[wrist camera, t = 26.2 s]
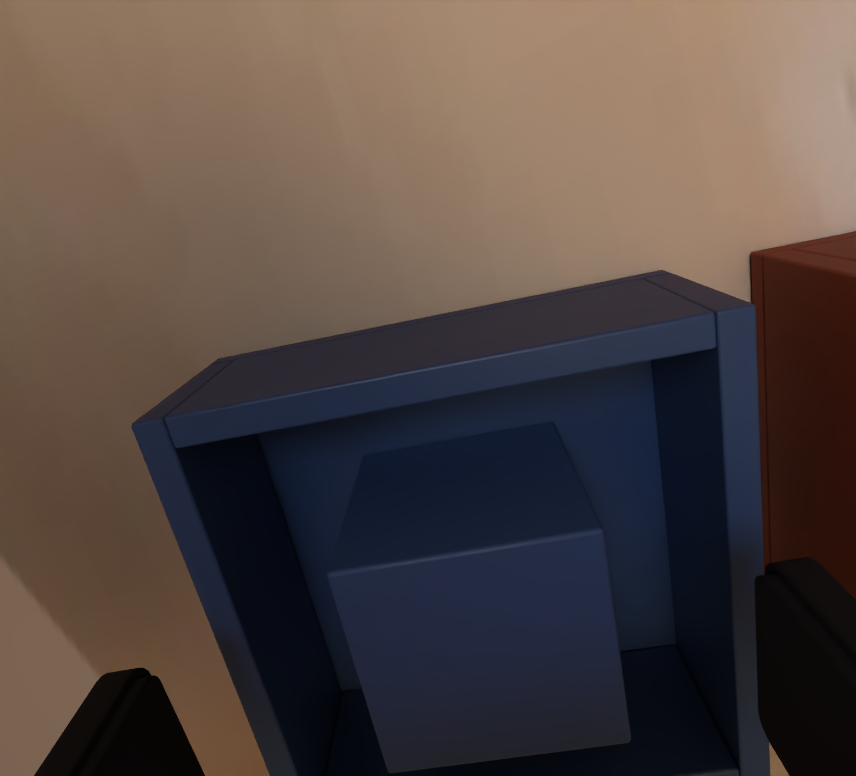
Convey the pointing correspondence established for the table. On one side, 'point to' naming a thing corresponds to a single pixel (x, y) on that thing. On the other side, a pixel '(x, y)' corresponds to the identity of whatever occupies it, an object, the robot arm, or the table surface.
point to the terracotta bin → (808, 401)
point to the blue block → (479, 602)
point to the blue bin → (470, 416)
